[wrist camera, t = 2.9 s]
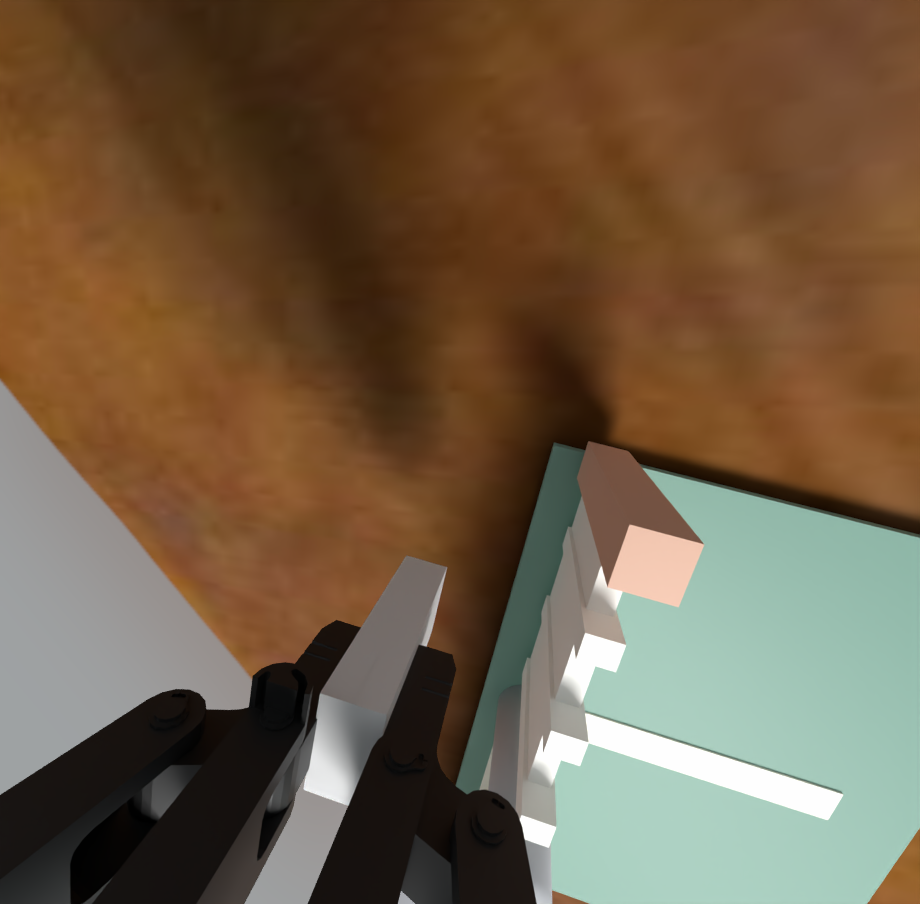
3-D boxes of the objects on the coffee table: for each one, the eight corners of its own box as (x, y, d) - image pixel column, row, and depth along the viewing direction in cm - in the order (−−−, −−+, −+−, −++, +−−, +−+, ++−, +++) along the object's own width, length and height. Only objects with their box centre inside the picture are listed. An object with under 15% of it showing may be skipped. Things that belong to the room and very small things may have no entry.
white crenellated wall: (588, 441, 18) (629, 524, 10) (628, 450, 18) (704, 544, 10) (515, 677, 21) (500, 888, 13) (548, 687, 21) (554, 908, 13)
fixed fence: (505, 670, 22) (486, 860, 14) (552, 684, 22) (561, 886, 14) (451, 850, 26) (411, 1086, 18) (491, 865, 25) (469, 1110, 17)
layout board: (553, 442, 19) (554, 445, 18) (1071, 572, 17) (1093, 582, 16) (440, 837, 26) (437, 850, 25) (804, 968, 23) (812, 986, 23)
